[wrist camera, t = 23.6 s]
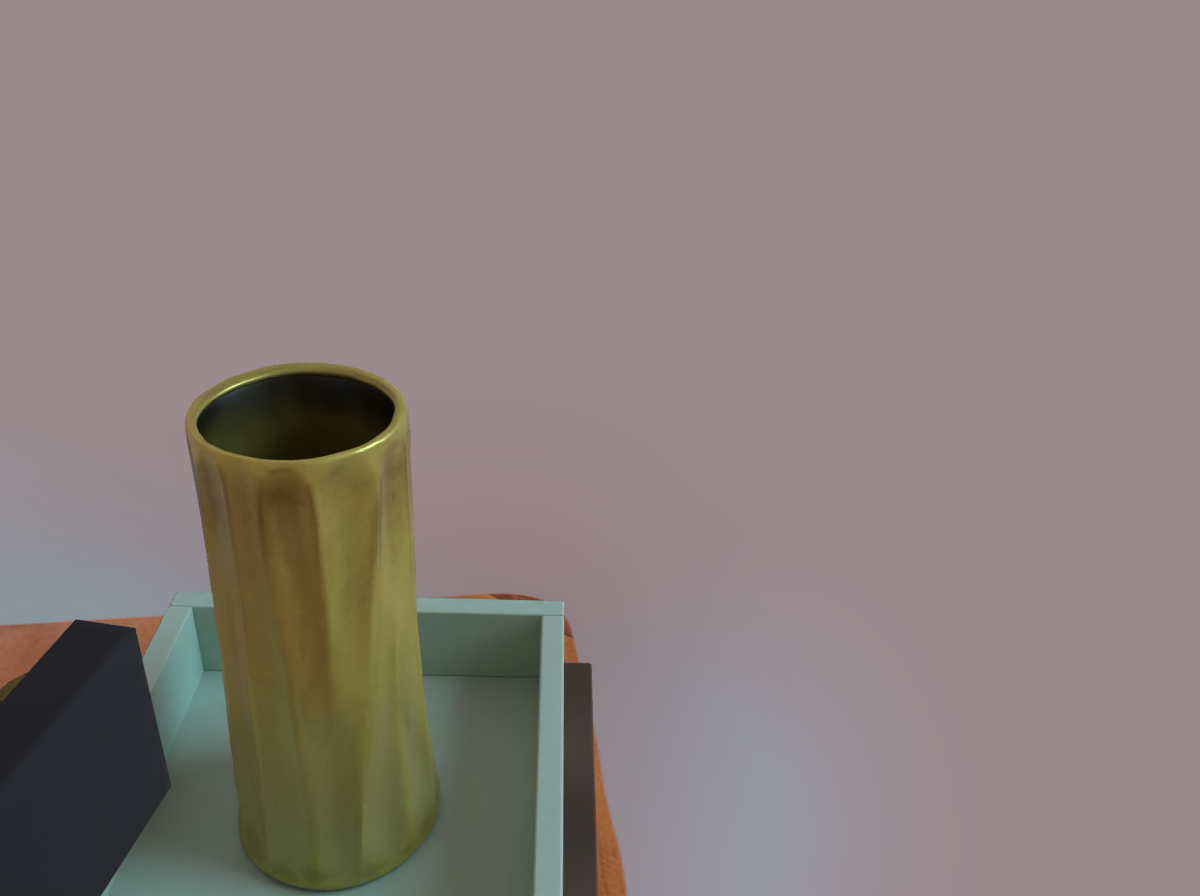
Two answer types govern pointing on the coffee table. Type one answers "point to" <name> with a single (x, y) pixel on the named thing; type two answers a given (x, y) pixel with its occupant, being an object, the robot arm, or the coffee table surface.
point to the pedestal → (579, 784)
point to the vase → (317, 618)
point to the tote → (460, 744)
